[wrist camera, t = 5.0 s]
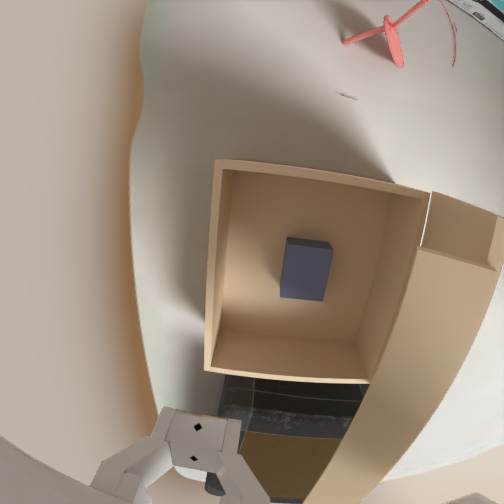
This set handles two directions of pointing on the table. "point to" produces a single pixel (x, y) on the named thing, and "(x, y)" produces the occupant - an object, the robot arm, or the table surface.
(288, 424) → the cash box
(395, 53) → the figurine
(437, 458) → the table surface
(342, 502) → the lid
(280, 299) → the mailer box
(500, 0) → the tea box
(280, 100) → the table surface
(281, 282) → the dark blue rectangular block
